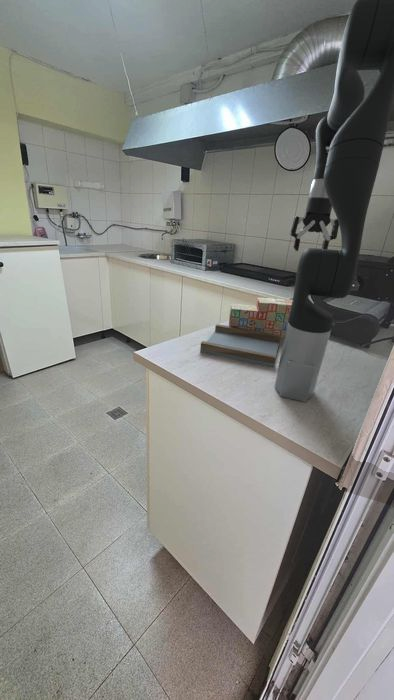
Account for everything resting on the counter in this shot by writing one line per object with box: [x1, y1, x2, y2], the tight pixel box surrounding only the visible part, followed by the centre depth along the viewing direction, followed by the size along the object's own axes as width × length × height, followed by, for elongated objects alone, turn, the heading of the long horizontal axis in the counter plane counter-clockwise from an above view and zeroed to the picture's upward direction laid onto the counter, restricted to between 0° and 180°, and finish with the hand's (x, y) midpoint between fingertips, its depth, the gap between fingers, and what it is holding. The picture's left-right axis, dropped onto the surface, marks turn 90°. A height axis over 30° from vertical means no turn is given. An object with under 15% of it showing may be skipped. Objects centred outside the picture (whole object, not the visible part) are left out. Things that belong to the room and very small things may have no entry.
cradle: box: [199, 323, 281, 368], centre depth 90 cm, size 17×22×3 cm
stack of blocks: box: [228, 297, 293, 339], centre depth 100 cm, size 21×6×12 cm, turn 84°
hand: (309, 251), depth 95 cm, fingers open, 8 cm apart
